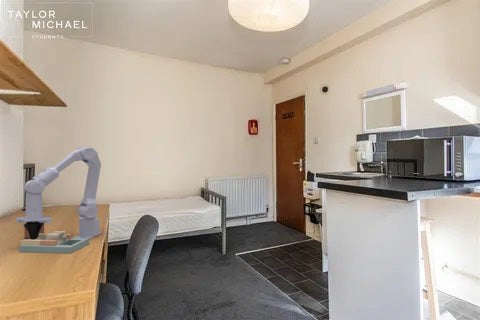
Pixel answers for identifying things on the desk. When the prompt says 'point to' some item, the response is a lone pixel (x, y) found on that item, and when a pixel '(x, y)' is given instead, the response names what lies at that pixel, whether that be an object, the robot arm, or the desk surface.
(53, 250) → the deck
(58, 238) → the block
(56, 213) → the desk surface
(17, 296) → the desk surface
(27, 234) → the lighter
